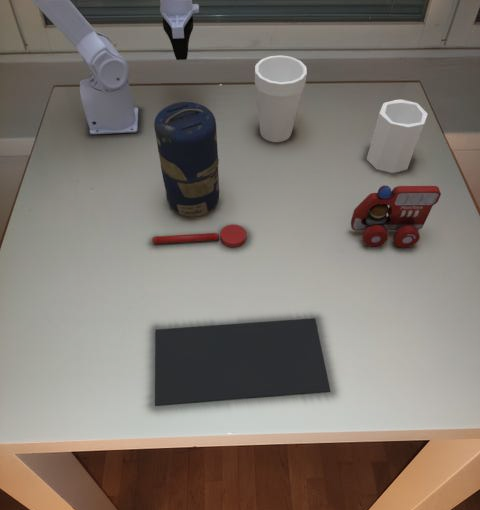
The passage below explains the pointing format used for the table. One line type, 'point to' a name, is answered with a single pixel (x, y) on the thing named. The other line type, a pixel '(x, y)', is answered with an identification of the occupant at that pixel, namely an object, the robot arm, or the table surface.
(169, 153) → the canister
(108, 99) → the robot arm
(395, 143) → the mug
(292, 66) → the foam cup
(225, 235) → the spoon
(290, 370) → the placemat
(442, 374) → the table surface
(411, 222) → the toy fire truck
